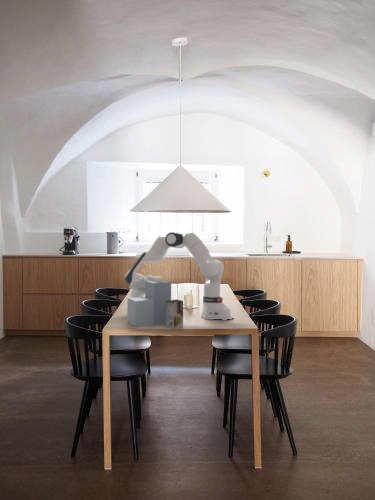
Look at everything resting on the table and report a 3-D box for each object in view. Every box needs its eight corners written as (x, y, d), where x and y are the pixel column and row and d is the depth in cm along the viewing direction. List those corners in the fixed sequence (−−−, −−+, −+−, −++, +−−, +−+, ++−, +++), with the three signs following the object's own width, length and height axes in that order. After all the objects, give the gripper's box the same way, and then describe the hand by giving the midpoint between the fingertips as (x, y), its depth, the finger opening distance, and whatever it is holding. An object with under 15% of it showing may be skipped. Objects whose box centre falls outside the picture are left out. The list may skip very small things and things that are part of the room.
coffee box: (175, 324, 305) (175, 299, 304) (183, 326, 301) (183, 300, 300) (165, 327, 298) (166, 300, 297) (173, 328, 293) (174, 301, 293)
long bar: (163, 282, 309) (163, 276, 309) (158, 282, 307) (158, 276, 307) (150, 279, 327) (150, 273, 327) (145, 279, 325) (145, 274, 325)
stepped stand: (127, 322, 311) (127, 281, 310) (161, 319, 322) (162, 280, 321) (135, 326, 298) (135, 283, 297) (170, 323, 310) (171, 282, 308)
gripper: (127, 284, 332) (133, 275, 322) (154, 283, 342) (161, 274, 331) (128, 292, 330) (135, 284, 319) (156, 291, 339) (163, 283, 329)
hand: (148, 279), depth 325 cm, fingers open, 8 cm apart
